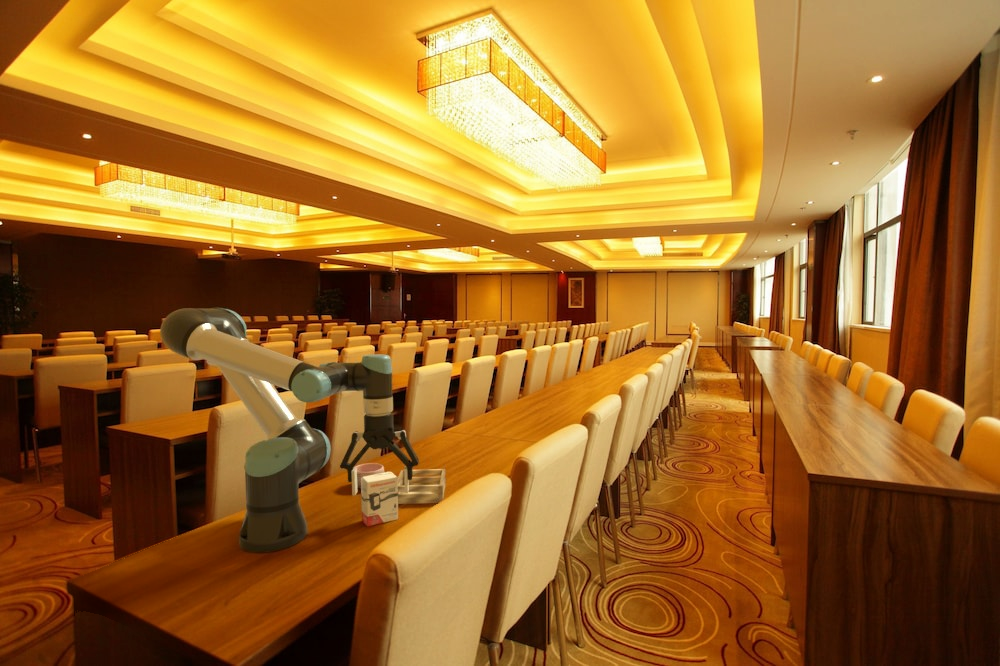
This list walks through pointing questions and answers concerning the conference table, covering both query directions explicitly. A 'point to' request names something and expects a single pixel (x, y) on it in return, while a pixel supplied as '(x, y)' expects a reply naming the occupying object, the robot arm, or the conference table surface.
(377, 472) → the pink bowl
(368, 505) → the ink box
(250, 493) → the robot arm
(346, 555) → the conference table surface
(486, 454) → the conference table surface
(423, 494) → the crate
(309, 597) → the conference table surface
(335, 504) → the conference table surface
